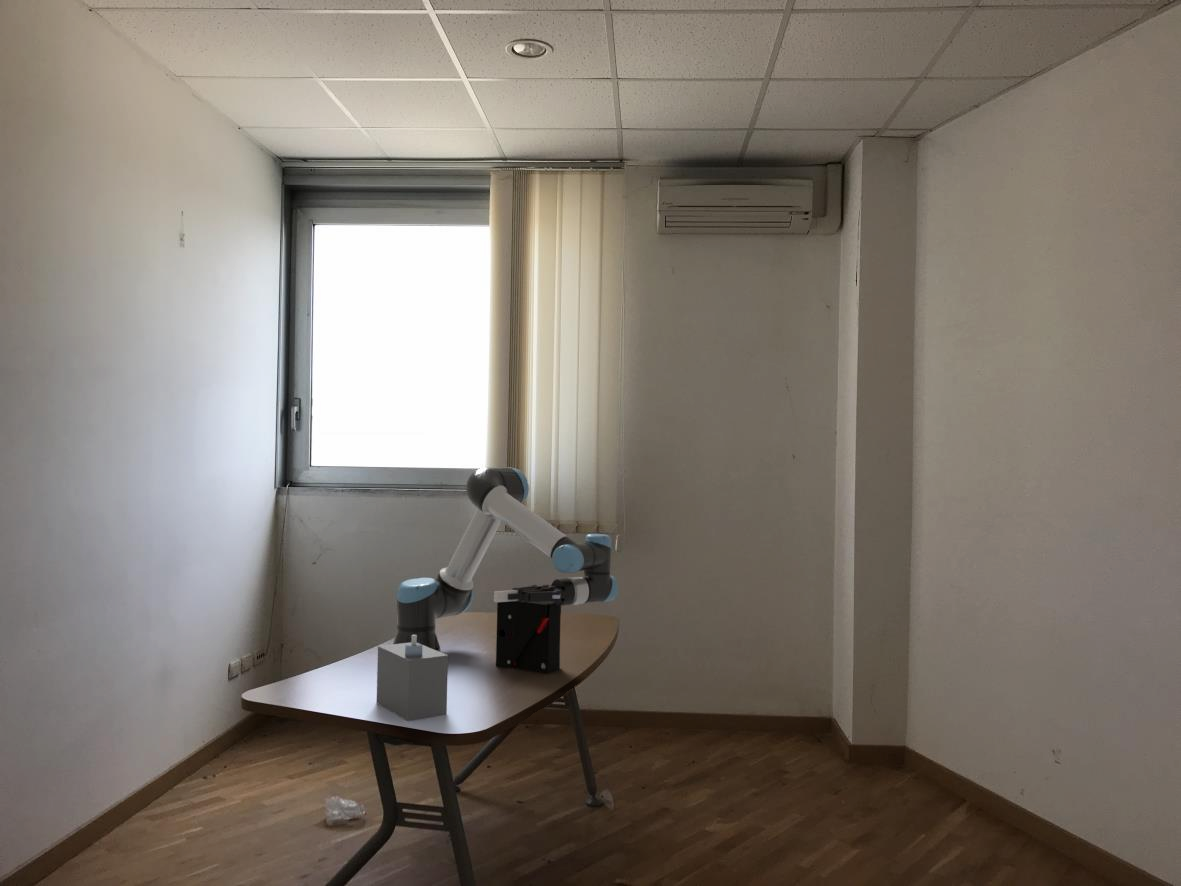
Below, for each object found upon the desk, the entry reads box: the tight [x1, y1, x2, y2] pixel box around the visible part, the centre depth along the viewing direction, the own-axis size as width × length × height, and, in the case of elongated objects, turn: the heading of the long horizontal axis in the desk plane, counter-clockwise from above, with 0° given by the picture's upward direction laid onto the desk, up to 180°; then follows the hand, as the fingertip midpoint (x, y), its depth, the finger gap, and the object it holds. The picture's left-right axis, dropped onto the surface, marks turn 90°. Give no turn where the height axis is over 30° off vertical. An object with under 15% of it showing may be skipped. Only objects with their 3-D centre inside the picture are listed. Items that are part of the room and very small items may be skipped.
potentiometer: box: [405, 635, 422, 657], centre depth 207 cm, size 4×4×5 cm
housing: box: [376, 642, 449, 722], centre depth 212 cm, size 18×10×14 cm, turn 37°
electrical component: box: [495, 599, 562, 675], centre depth 256 cm, size 18×10×20 cm, turn 59°
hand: (495, 596), depth 229 cm, fingers closed
